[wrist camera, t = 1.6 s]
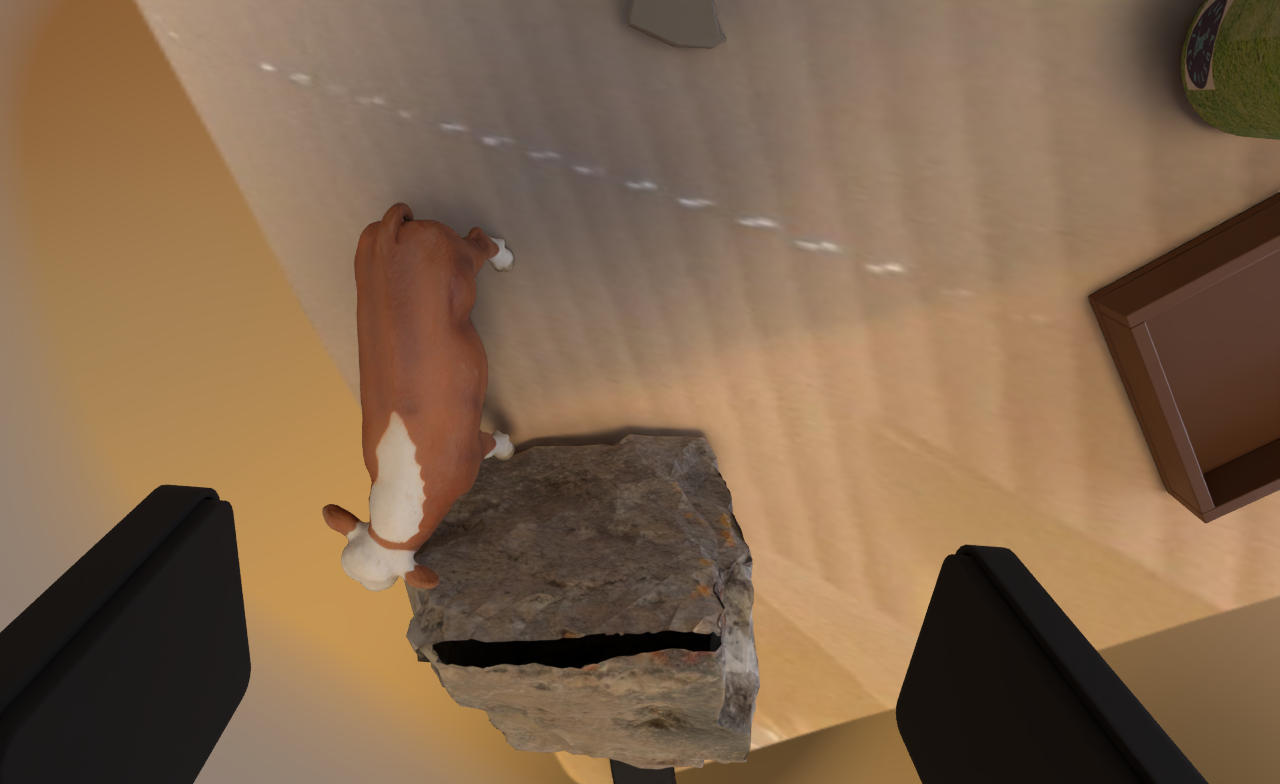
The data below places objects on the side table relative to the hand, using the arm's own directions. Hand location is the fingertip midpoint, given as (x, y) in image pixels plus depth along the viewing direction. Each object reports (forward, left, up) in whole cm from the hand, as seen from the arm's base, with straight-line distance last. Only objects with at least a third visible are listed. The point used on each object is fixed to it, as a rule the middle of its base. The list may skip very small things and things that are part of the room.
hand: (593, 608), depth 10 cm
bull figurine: (+1, -8, -20) cm, 22 cm away
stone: (+4, -6, -19) cm, 20 cm away
